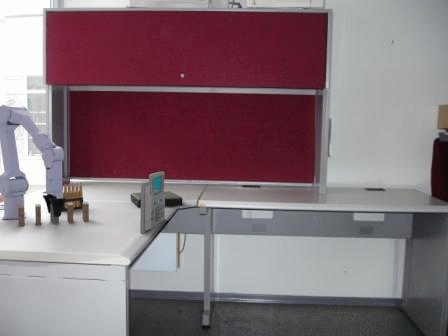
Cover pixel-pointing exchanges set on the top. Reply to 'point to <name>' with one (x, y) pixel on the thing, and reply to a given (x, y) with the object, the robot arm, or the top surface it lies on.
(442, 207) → the top surface
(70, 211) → the walnut domino
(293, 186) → the top surface
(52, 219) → the charcoal domino
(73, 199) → the ammunition clip
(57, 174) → the robot arm
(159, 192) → the office telephone
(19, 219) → the walnut domino
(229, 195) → the top surface
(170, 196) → the network switch
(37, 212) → the walnut domino
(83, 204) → the walnut domino
